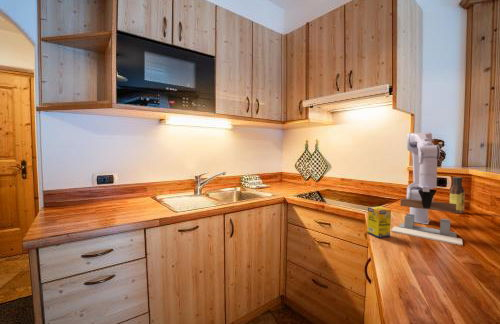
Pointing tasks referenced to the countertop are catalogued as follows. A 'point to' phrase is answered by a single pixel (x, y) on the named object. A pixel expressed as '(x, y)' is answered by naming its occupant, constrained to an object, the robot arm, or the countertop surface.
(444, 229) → the rack
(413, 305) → the countertop surface
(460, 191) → the sauce bottle
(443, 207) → the rail
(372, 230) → the supplement box
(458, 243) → the mat
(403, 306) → the countertop surface
